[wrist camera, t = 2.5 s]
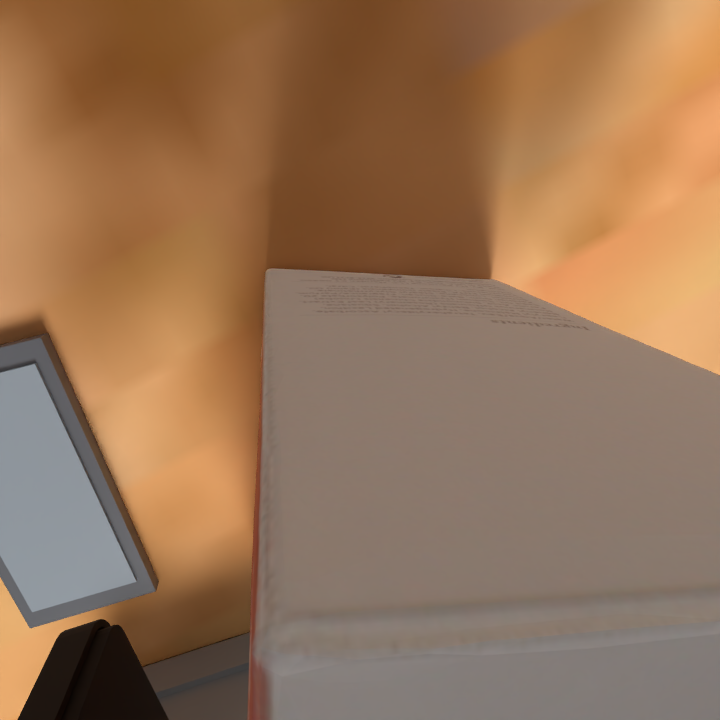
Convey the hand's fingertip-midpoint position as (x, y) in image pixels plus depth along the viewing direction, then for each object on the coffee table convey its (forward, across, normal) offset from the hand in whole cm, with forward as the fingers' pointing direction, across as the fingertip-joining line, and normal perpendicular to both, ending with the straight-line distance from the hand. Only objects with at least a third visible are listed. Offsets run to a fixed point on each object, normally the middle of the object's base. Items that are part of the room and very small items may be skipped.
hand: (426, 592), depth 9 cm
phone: (+6, +8, -2) cm, 10 cm away
